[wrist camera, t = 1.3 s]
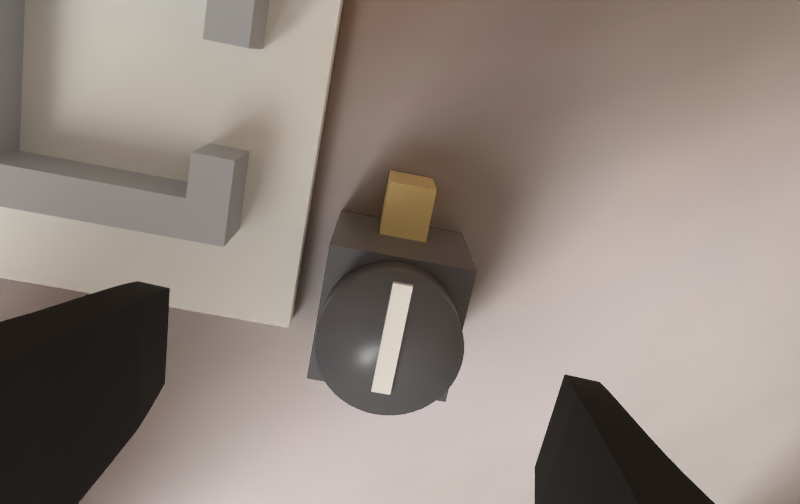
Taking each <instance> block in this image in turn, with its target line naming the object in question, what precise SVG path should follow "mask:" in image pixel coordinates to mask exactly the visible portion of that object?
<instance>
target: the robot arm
mask: <svg viewBox="0 0 800 504" xmlns="http://www.w3.org/2000/svg"><path fill="white" fill-rule="evenodd" d="M169 295H170V288H167V287H162V286H158V285H153V284H148V283H144V282H139V281H136V282H131V283H126V284H122V285H119V286H115V287H112V288H108V289H105V290H102V291H99V292H96V293H92V294H89V295H86V296H83V297H80V298H77V299H74V300H71V301H68V302H65V303H62V304H58V305H55V306H52V307H49V308H46V309H43V310H40V311H37V312H33V313H30V314H26V315H23V316H19V317H16V318H12V319H9V320H5V321H2V322H0V504H78V503H79V501H80V500H81V499H82V498H83V497H84V495H85V494H86V493H87V492H88V490H89V489H90V488H91V487H92V485H93V484H94V483H95V482H96V481H97V479H98V478H99V477H100V476H101V474H102V473H103V472H104V471H105V469H106V468H107V467H108V466H109V465H110V463H111V462H112V461H113V460H114V458H115V457H116V456H117V455H118V453H119V452H120V451H121V450H122V448H123V447H124V446H125V444H126V443H127V442H128V441H129V439H130V438H131V437H132V436H133V434H134V433H135V432H136V430H137V429H138V428H139V426H140V425H141V423H142V421H143V420H144V418H145V416H146V415H147V413H148V412H149V410H150V408H151V407H152V405H153V403H154V401H155V400H156V398H157V396H158V394H159V393H160V391H161V389H162V387H163V386H164V384H165V368H166V349H167V331H168V313H169ZM535 504H715V503H714V502H713V501H712V500H710V499H709V498H708V497H707V496H706V495H705V494H704V493H703V492H702V491H701V490H700V489H699V488H698V487H697V486H696V485H695V484H694V483H693V482H692V481H691V480H690V479H689V478H688V477H687V476H686V475H685V474H684V473H683V472H682V471H681V470H680V469H679V468H678V467H677V466H676V465H675V464H674V463H673V462H672V461H671V460H670V459H669V458H668V457H667V456H666V455H665V453H664V452H663V451H662V450H661V449H660V448H659V447H658V446H657V445H656V444H655V443H654V442H653V440H652V439H651V438H650V437H649V436H648V435H647V434H646V433H645V432H644V430H643V429H642V428H641V427H640V426H639V425H638V424H637V423H636V421H635V420H634V419H633V418H632V417H631V416H630V415H629V414H628V412H627V411H626V410H625V409H624V408H623V407H622V406H621V404H620V403H619V402H618V401H617V400H616V399H615V398H614V397H613V396H612V394H611V393H610V392H609V391H608V390H607V389H606V388H605V387H604V386H603V385H602V384H601V383H600V382H597V381H592V380H587V379H583V378H578V377H574V376H569V375H564V379H563V382H562V385H561V388H560V391H559V394H558V397H557V400H556V403H555V407H554V410H553V413H552V416H551V419H550V422H549V425H548V428H547V431H546V434H545V438H544V441H543V444H542V447H541V450H540V453H539V456H538V459H537V462H536V466H535Z"/></svg>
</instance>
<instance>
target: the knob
mask: <svg viewBox="0 0 800 504" xmlns="http://www.w3.org/2000/svg"><path fill="white" fill-rule="evenodd" d="M436 192H437V189H436V186H435V183H434V180H433V178H429V177H423V176H418V175H413V174H408V173H402V172H397V171H392V170H390V172H389V177H388V183H387V188H386V193H385V198H384V204H383V209H382V214H381V218H377V217H372V216H366V215H361V214H356V213H350V212H345V211H341V213H340V216H339V219H338V222H337V225H336V228H335V231H334V234H333V237H332V240H331V242H330V247H329V252H328V258H327V264H326V270H325V276H324V282H323V288H322V293H321V299H320V305H319V311H318V317H317V323H316V328H315V334H314V340H313V346H312V352H311V358H310V364H309V369H308V375H307V378H309V379H314V380H320V381H325V382H326V383H327V385H328V386H329V388H330V389H331V390H332V391H333V392H334V393H335V394H336V395H337V396H338V397H339V398H341V399H342V400H343V401H345V402H346V403H348V404H349V405H351V406H353V407H355V408H357V409H360V410H362V411H365V412H369V413H373V414H379V415H400V414H406V413H410V412H414V411H416V410H419V409H422V408H424V407H426V406H428V405H429V404H431V403H433V402H434V401H435V400H438V401H444V402H445V401H446V397H447V393H448V389H449V387H450V386H451V385H452V383H453V382H454V380H455V379H456V377H457V374H458V372H459V370H460V367H461V364H462V360H463V354H464V339H463V333H462V330H463V326H464V321H465V317H466V313H467V309H468V305H469V300H470V296H471V292H472V288H473V284H474V279H475V275H476V269H475V266H474V263H473V261H472V258H471V256H470V253H469V251H468V248H467V245H466V243H465V240H464V238H463V235H462V233H457V232H452V231H447V230H441V229H436V228H431V227H429V225H430V220H431V216H432V211H433V206H434V202H435V197H436Z"/></svg>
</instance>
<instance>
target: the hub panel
mask: <svg viewBox="0 0 800 504" xmlns="http://www.w3.org/2000/svg"><path fill="white" fill-rule="evenodd" d="M342 6H343V0H0V278H4V279H10V280H15V281H21V282H27V283H33V284H38V285H44V286H50V287H56V288H61V289H67V290H73V291H78V292H84V293H90V294H92V293H96V292H99V291H102V290H105V289H108V288H112V287H115V286H119V285H122V284H126V283H131V282H136V281H139V282H144V283H148V284H153V285H158V286H162V287H167V288H170V295H169V307H170V308H176V309H182V310H188V311H193V312H199V313H205V314H211V315H216V316H222V317H228V318H234V319H239V320H245V321H251V322H256V323H262V324H268V325H274V326H279V327H285V328H289V326H290V324H291V321H292V318H293V312H294V305H295V299H296V293H297V287H298V280H299V274H300V268H301V262H302V255H303V249H304V243H305V237H306V230H307V224H308V218H309V212H310V205H311V199H312V193H313V187H314V180H315V174H316V168H317V162H318V155H319V149H320V143H321V137H322V130H323V124H324V118H325V112H326V105H327V99H328V93H329V87H330V80H331V74H332V68H333V62H334V55H335V49H336V43H337V37H338V30H339V24H340V18H341V12H342Z"/></svg>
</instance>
